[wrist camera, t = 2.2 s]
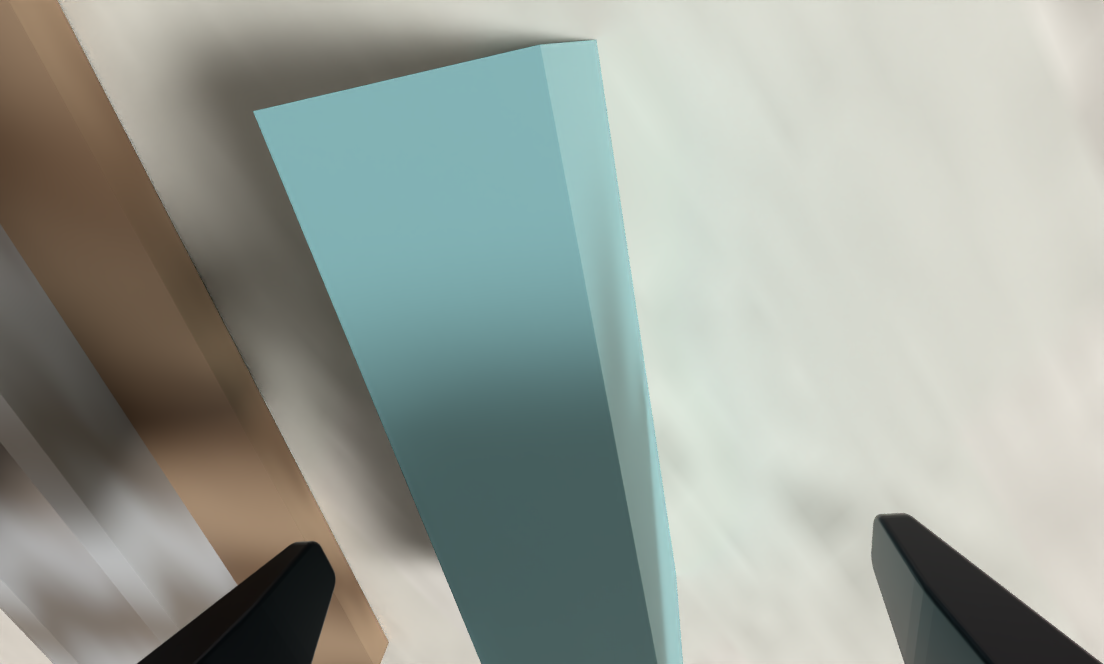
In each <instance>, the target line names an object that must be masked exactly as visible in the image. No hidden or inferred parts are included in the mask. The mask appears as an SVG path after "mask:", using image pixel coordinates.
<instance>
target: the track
mask: <svg viewBox="0 0 1104 664" xmlns="http://www.w3.org/2000/svg"><path fill="white" fill-rule="evenodd" d="M302 541H316V542H317V543H319V544H320V546H321V547H322V549H323V551H324V553H325V555H326V556H327V558H328V560H329V562H330V564H331V566H332V568H333V570H334V572H335V576H336V582H335V588H334V592H333V595H332V598H331V601H330V605H329V608H328V611H327V615H326V618H325V621H324V625H323V628H322V631H321V634H320V638H319V641H318V644H317V648H316V651H315V654H314V658H313V661H312V664H380V663H381V660H382V658H383V656H384V653H385V651H386V648H387V646H388V643H389V642H388V640H387V638H386V636H385V634H384V632H383V630H382V629H381V627H380V625H379V623H378V621H377V619H376V617H375V615H374V613H373V611H372V609H371V607H370V605H369V603H368V601H367V600H366V598H365V596H364V594H363V592H362V590H361V588H360V586H359V584H358V582H357V580H356V578H355V576H354V574H353V572H352V570H351V569H350V567H349V565H348V563H347V561H346V559H345V557H344V555H343V553H342V551H341V549H340V547H339V545H338V543H337V541H336V539H335V538H334V536H333V534H332V532H331V530H330V528H329V526H328V524H327V522H326V520H325V518H324V516H323V514H322V512H321V510H320V508H319V507H318V505H317V503H316V501H315V499H314V497H313V495H312V493H311V491H310V489H309V487H308V485H307V483H306V481H305V479H304V478H303V476H302V474H301V472H300V470H299V468H298V466H297V464H296V462H295V460H294V458H293V456H292V454H291V452H290V450H289V448H288V447H287V445H286V443H285V441H284V439H283V437H282V435H281V433H280V431H279V429H278V427H277V425H276V423H275V421H274V419H273V417H272V416H271V414H270V412H269V410H268V408H267V406H266V404H265V402H264V400H263V398H262V396H261V394H260V392H259V390H258V388H257V386H256V385H255V383H254V381H253V379H252V377H251V375H250V373H249V371H248V369H247V367H246V365H245V363H244V361H243V359H242V357H241V356H240V354H239V352H238V350H237V348H236V346H235V344H234V342H233V340H232V338H231V336H230V334H229V332H228V330H227V328H226V326H225V325H224V323H223V321H222V319H221V317H220V315H219V313H218V311H217V309H216V307H215V305H214V303H213V301H212V299H211V297H210V295H209V294H208V292H207V290H206V288H205V286H204V284H203V282H202V280H201V278H200V276H199V274H198V272H197V270H196V268H195V266H194V265H193V263H192V261H191V259H190V257H189V255H188V253H187V251H186V249H185V247H184V245H183V243H182V241H181V239H180V237H179V235H178V234H177V232H176V230H175V228H174V226H173V224H172V222H171V220H170V218H169V216H168V214H167V212H166V210H165V208H164V206H163V204H162V203H161V201H160V199H159V197H158V195H157V193H156V191H155V189H154V187H153V185H152V183H151V181H150V179H149V177H148V175H147V173H146V172H145V170H144V168H143V166H142V164H141V162H140V160H139V158H138V156H137V154H136V152H135V150H134V148H133V146H132V144H131V143H130V141H129V139H128V137H127V135H126V133H125V131H124V129H123V127H122V125H121V123H120V121H119V119H118V117H117V115H116V113H115V112H114V110H113V108H112V106H111V104H110V102H109V100H108V98H107V96H106V94H105V92H104V90H103V88H102V86H101V84H100V82H99V81H98V79H97V77H96V75H95V73H94V71H93V69H92V67H91V65H90V63H89V61H88V59H87V57H86V55H85V53H84V51H83V50H82V48H81V46H80V44H79V42H78V40H77V38H76V36H75V34H74V32H73V30H72V28H71V26H70V24H69V22H68V21H67V19H66V17H65V15H64V13H63V11H62V9H61V7H60V5H59V3H58V1H57V0H0V608H1V609H2V610H3V611H4V612H5V614H6V615H7V616H8V617H9V618H10V619H11V620H12V621H13V622H14V623H15V624H16V625H17V626H18V627H19V628H20V629H21V630H22V631H23V632H24V633H25V634H26V636H27V637H28V638H29V639H30V640H31V641H32V642H33V643H34V644H35V645H36V646H37V647H38V648H39V649H40V650H41V651H42V652H43V653H44V654H45V655H46V656H47V657H48V659H49V660H50V661H51V662H52V663H53V664H137V663H138V662H139V661H141V660H142V659H143V658H144V657H146V656H147V655H148V654H150V653H151V652H152V651H153V650H155V649H156V648H157V647H159V646H160V645H161V644H163V643H164V642H165V641H166V640H168V639H169V638H170V637H172V636H173V635H174V634H175V633H177V632H178V631H179V630H181V629H182V628H183V627H184V626H186V625H187V624H188V623H190V622H191V621H192V620H194V619H195V618H196V617H197V616H199V615H200V614H201V613H203V612H204V611H205V610H206V609H208V608H209V607H210V606H212V605H213V604H214V603H215V602H217V601H218V600H219V599H221V598H222V597H223V596H224V595H226V594H227V593H228V592H230V591H231V590H232V589H234V588H235V587H236V586H237V585H239V584H240V583H241V582H243V581H244V580H245V579H246V578H248V577H249V576H250V575H252V574H253V573H254V572H255V571H257V570H258V569H259V568H261V567H262V566H263V565H264V564H266V563H267V562H268V561H270V560H271V559H272V558H274V557H275V556H276V555H277V554H279V553H280V552H281V551H283V550H284V549H285V548H286V547H288V546H289V545H290V544H292V543H295V542H302Z"/></svg>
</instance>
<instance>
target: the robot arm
mask: <svg viewBox="0 0 1104 664" xmlns="http://www.w3.org/2000/svg"><path fill="white" fill-rule="evenodd" d="M871 558H872V565H873V569H874V572H875V576H876V579H877V582H878V585H879V588H880V591H881V594H882V597H883V600H884V603H885V606H886V609H887V612H888V615H889V618H890V621H891V624H892V627H893V630H894V633H895V636H896V639H897V642H898V645H899V648H900V651H901V654H902V657H903V660H904V663H905V664H1102V663H1101V662H1100V661H1099V660H1097V659H1096V658H1095V657H1093V656H1092V655H1091V654H1090V653H1088V652H1087V651H1086V650H1084V649H1083V648H1082V647H1080V646H1079V645H1078V644H1077V643H1075V642H1074V641H1073V640H1071V639H1070V638H1069V637H1067V636H1066V635H1065V634H1064V633H1062V632H1061V631H1060V630H1058V629H1057V628H1056V627H1055V626H1053V625H1052V624H1051V623H1049V622H1048V621H1047V620H1045V619H1044V618H1043V617H1042V616H1040V615H1039V614H1038V613H1036V612H1035V611H1034V610H1033V609H1031V608H1030V607H1029V606H1027V605H1026V604H1025V603H1023V602H1022V601H1021V600H1020V599H1018V598H1017V597H1016V596H1014V595H1013V594H1012V593H1010V592H1009V591H1008V590H1007V589H1005V588H1004V587H1003V586H1001V585H1000V584H999V583H998V582H996V581H995V580H994V579H992V578H991V577H990V576H988V575H987V574H986V573H985V572H983V571H982V570H981V569H979V568H978V567H977V566H975V565H974V564H973V563H972V562H970V561H969V560H968V559H966V558H965V557H964V556H963V555H961V554H960V553H959V552H957V551H956V550H955V549H953V548H952V547H951V546H950V545H948V544H947V543H946V542H944V541H943V540H942V539H941V538H939V537H938V536H937V535H935V534H934V533H933V532H931V531H930V530H929V529H928V528H926V527H925V526H924V525H922V524H921V523H920V522H918V521H917V520H916V519H915V518H913V517H912V516H910V515H908V514H905V513H894V514H879V515H877V516H876V517H875V519H874V523H873V537H872V551H871ZM335 582H336V576H335V572H334V570H333V568H332V566H331V564H330V562H329V560H328V558H327V556H326V555H325V553H324V551H323V549H322V547H321V546H320V544H319V543H317V542H316V541H302V542H295V543H292V544H290V545H289V546H288V547H286V548H285V549H284V550H283V551H281V552H280V553H279V554H277V555H276V556H275V557H274V558H272V559H271V560H270V561H268V562H267V563H266V564H264V565H263V566H262V567H261V568H259V569H258V570H257V571H255V572H254V573H253V574H252V575H250V576H249V577H248V578H246V579H245V580H244V581H243V582H241V583H240V584H239V585H237V586H236V587H235V588H234V589H232V590H231V591H230V592H228V593H227V594H226V595H224V596H223V597H222V598H221V599H219V600H218V601H217V602H215V603H214V604H213V605H212V606H210V607H209V608H208V609H206V610H205V611H204V612H203V613H201V614H200V615H199V616H197V617H196V618H195V619H194V620H192V621H191V622H190V623H188V624H187V625H186V626H184V627H183V628H182V629H181V630H179V631H178V632H177V633H175V634H174V635H173V636H172V637H170V638H169V639H168V640H166V641H165V642H164V643H163V644H161V645H160V646H159V647H157V648H156V649H155V650H153V651H152V652H151V653H150V654H148V655H147V656H146V657H144V658H143V659H142V660H141V661H139V662H138V663H137V664H312V661H313V658H314V654H315V651H316V648H317V644H318V641H319V638H320V634H321V631H322V628H323V625H324V621H325V618H326V615H327V611H328V608H329V605H330V601H331V598H332V595H333V592H334V588H335Z"/></svg>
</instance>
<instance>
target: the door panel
mask: <svg viewBox="0 0 1104 664" xmlns="http://www.w3.org/2000/svg"><path fill="white" fill-rule="evenodd" d="M253 112H254V115H255V117H256V120H257V122H258V125H259V127H260V129H261V132H262V134H263V137H264V139H265V141H266V144H267V146H268V149H269V151H270V154H271V156H272V158H273V161H274V163H275V166H276V168H277V170H278V173H279V175H280V178H281V180H282V183H283V185H284V187H285V190H286V192H287V195H288V197H289V200H290V202H291V204H292V207H293V209H294V212H295V214H296V216H297V219H298V221H299V224H300V226H301V229H302V231H303V233H304V236H305V238H306V241H307V243H308V245H309V248H310V250H311V253H312V255H313V258H314V260H315V262H316V265H317V267H318V270H319V272H320V275H321V277H322V279H323V282H324V284H325V287H326V289H327V291H328V294H329V296H330V299H331V301H332V304H333V306H334V308H335V311H336V313H337V316H338V318H339V321H340V323H341V325H342V328H343V330H344V333H345V335H346V337H347V340H348V342H349V345H350V347H351V350H352V352H353V354H354V357H355V359H356V362H357V364H358V366H359V369H360V371H361V374H362V376H363V379H364V381H365V383H366V386H367V388H368V391H369V393H370V396H371V398H372V400H373V403H374V405H375V408H376V410H377V412H378V415H379V417H380V420H381V422H382V425H383V427H384V429H385V432H386V434H387V437H388V439H389V441H390V444H391V446H392V449H393V451H394V454H395V456H396V458H397V461H398V463H399V466H400V468H401V471H402V473H403V475H404V478H405V480H406V483H407V485H408V487H409V490H410V492H411V495H412V497H413V500H414V502H415V504H416V507H417V509H418V512H419V514H420V516H421V519H422V521H423V524H424V526H425V529H426V531H427V533H428V536H429V538H430V541H431V543H432V546H433V548H434V550H435V553H436V555H437V558H438V560H439V562H440V565H441V567H442V570H443V572H444V575H445V577H446V579H447V582H448V584H449V587H450V589H451V592H452V594H453V596H454V599H455V601H456V604H457V606H458V608H459V611H460V613H461V616H462V618H463V621H464V623H465V625H466V628H467V630H468V633H469V635H470V637H471V640H472V642H473V645H474V647H475V650H476V652H477V654H478V657H479V659H480V662H481V664H683V657H682V645H681V632H680V619H679V607H678V594H677V581H676V571H675V564H674V558H673V551H672V544H671V538H670V531H669V524H668V518H667V511H666V504H665V497H664V491H663V484H662V477H661V471H660V464H659V457H658V450H657V444H656V437H655V430H654V424H653V417H652V410H651V404H650V397H649V390H648V383H647V377H646V370H645V363H644V357H643V350H642V343H641V337H640V330H639V323H638V316H637V310H636V303H635V296H634V290H633V283H632V276H631V270H630V263H629V256H628V249H627V243H626V236H625V229H624V223H623V216H622V209H621V203H620V196H619V189H618V182H617V176H616V169H615V162H614V156H613V149H612V142H611V136H610V129H609V122H608V115H607V109H606V102H605V95H604V89H603V82H602V75H601V68H600V62H599V55H598V48H597V42H596V40H588V41H576V42H564V43H552V44H540V45H536V46H531V47H527V48H523V49H519V50H514V51H510V52H506V53H501V54H497V55H493V56H489V57H484V58H480V59H476V60H471V61H467V62H463V63H458V64H454V65H450V66H446V67H441V68H437V69H433V70H428V71H424V72H420V73H416V74H411V75H407V76H403V77H398V78H394V79H390V80H385V81H381V82H377V83H373V84H368V85H364V86H360V87H355V88H351V89H347V90H343V91H338V92H334V93H330V94H325V95H321V96H317V97H312V98H308V99H304V100H300V101H295V102H291V103H287V104H282V105H278V106H274V107H270V108H265V109H261V110H257V111H253Z"/></svg>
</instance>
